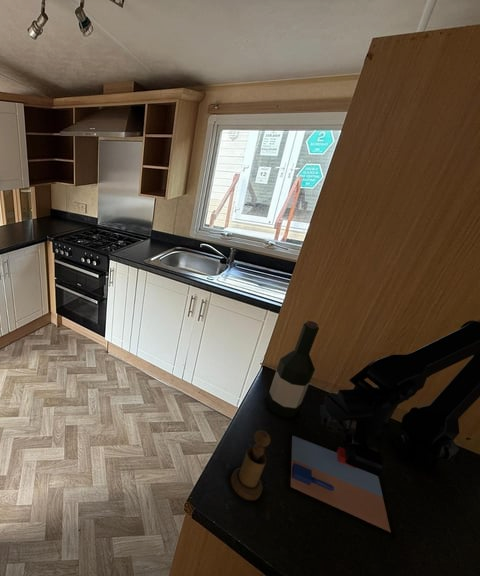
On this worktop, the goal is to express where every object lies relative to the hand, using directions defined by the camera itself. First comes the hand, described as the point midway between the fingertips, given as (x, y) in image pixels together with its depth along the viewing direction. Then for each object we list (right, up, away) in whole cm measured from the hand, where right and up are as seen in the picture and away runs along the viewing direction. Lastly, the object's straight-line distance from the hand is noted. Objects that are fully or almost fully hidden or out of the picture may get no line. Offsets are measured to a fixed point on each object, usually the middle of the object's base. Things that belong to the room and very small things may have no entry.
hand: (347, 458), depth 75 cm
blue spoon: (-10, -4, -2) cm, 11 cm away
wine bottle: (-5, +5, +18) cm, 20 cm away
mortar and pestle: (-26, -5, -3) cm, 27 cm away
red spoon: (+2, -1, -1) cm, 2 cm away
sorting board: (-4, -4, -1) cm, 6 cm away
